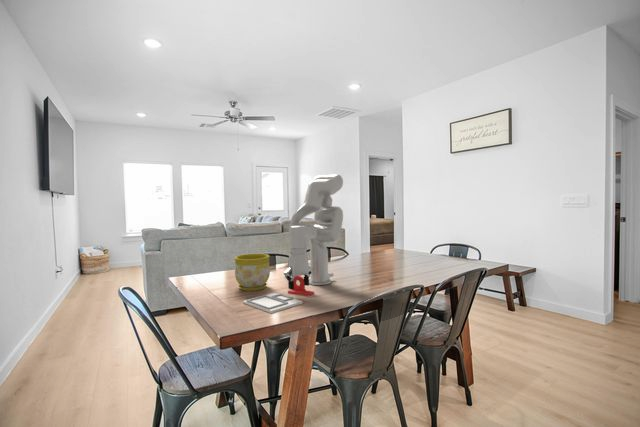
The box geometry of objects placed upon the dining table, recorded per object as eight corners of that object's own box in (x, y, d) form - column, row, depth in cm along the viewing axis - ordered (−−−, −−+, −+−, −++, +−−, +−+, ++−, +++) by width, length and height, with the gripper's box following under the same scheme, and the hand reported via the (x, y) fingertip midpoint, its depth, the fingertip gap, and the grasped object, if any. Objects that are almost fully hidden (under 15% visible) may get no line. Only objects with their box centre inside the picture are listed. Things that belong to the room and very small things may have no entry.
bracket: (288, 293, 162) (287, 277, 162) (293, 291, 166) (292, 275, 166) (309, 296, 156) (309, 279, 156) (314, 293, 160) (313, 277, 160)
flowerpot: (262, 281, 186) (261, 252, 185) (276, 288, 171) (275, 256, 170) (230, 286, 176) (229, 255, 175) (242, 294, 161) (241, 260, 160)
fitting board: (274, 294, 159) (273, 291, 159) (302, 303, 145) (302, 299, 145) (243, 303, 147) (243, 299, 147) (271, 313, 133) (270, 309, 133)
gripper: (306, 248, 168) (306, 282, 169) (279, 252, 156) (279, 289, 156) (316, 250, 163) (317, 285, 163) (289, 254, 150) (290, 292, 151)
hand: (298, 287), depth 160 cm, fingers open, 9 cm apart
